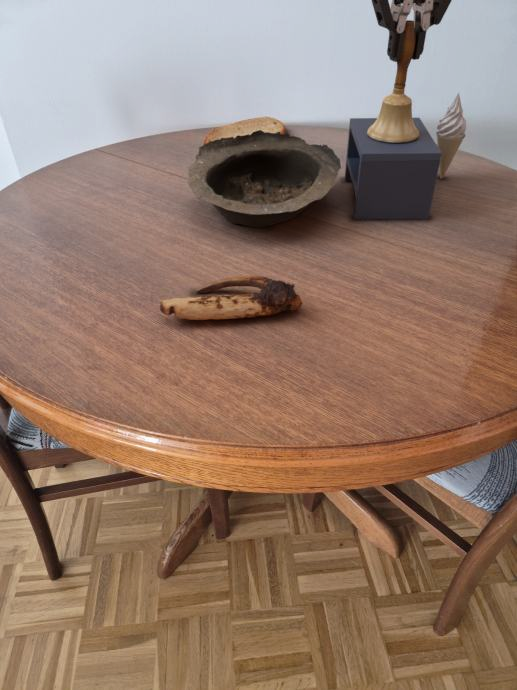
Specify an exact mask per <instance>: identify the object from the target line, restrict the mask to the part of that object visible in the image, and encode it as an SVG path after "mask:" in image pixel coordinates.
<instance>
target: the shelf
mask: <svg viewBox="0 0 517 690" xmlns="http://www.w3.org/2000/svg"><path fill="white" fill-rule="evenodd" d="M377 118H378V117H355V118H354V117H353V118H352V117H350V118H349V126H348V136H347V148H346V158H345V169H344V182H351V183H352V188H353V191H354V194H355V202H354V212H353V219H354V220H355V221H356V220H357V221H363V220H364V221H365V220H367V221H369V220H371V221H373V220H374V221H376V220H429V216H430V211H431V207H432V202H433V197H434V192H435V187H436V184H437V183H436V182H437V178H438V174H439V173H438V172H439V170H440V169H439V164H440V158H441V154H442V153H441V151H440V150H439V148H438V144H437V143H436V142H435V139H433V137H432V135H431V133H429V130H428V129H427V127H426V125H425V124H424V123H423V121H422V120H421V118H420V117H412V119H413V123H414V125H415V127H416V128H417V129H418V131H419V137H418V138H417V139H415V140H413V141H410V142H403V143H389V142H383V141H378V140H375V139H373V138H371V137H370V136H368V134H367V131H368V129H369V127H370V126H371V125H373V124H374V123H375V121H376V120H377Z"/></svg>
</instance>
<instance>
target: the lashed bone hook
mask: <svg viewBox="0 0 517 690" xmlns="http://www.w3.org/2000/svg"><path fill="white" fill-rule="evenodd" d="M233 287H251V288H257V289H260V292H252V293H247V294H242V293H241V294H222V295H207V296H197V297H189V296H185V297H184V296H183V297H172V298H167V299H162V300H161V301H160V302H159V303H160V305H159V310H160V312H161V313H162V314H164V315H165V316H171V315H172V314H173V315H174V317H175V318H178V319H183V320H191V321H205V320H229V319H233V320H234V319H244V318H256V317H265V316H273V315H277V314H279V313H281V312H284V311H288V310H290V311H295V310H298V309H300V308H301V307H302V305H303V300H302V298H301V296H300V294H298V293H296V291H295V284H294V283H292V284H290V283H289V282H285V281H283V280H280V279H279V280H276V279H272V278H269V277H267V276H262V275H239V276H232V277H227V278H223V279H218V280H216V281H213V282H210V283H208V284H205V285H203V286H202V287H199V288H198V289H196V291H195V293H196V294H204V293H209V292H214V291H218V290H222V289H224V288H225V289H226V288H233Z"/></svg>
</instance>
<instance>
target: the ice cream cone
mask: <svg viewBox="0 0 517 690" xmlns="http://www.w3.org/2000/svg"><path fill="white" fill-rule="evenodd" d="M463 113H464V109H463V106H462V102H461V96H460V93H459V92H458V93H457V95H456V97H455V98H454V100H453V101H452V103H451V104H450V106H448V108H447V111H446V113H445V115H444V116H443V117H441V118H440V119H439V121H438V122H439V123H438V124H437V125H436V127H437V129H436V130H437V131H436V132H435V133H436V134H435V135H436V142H437V143H436V144H437V147H438V148H439V150H440V151H441V153H442V154H441V158H440V164H439V169H438V170H439V178H440V179H444V177H445V174H446V173H447V171H448V169H449V168H450V165H451V164H452V162H453V160H454V158H455V156H456V154H457V152H458V150H459V149H460V147H461V145H462V143H463V140H464V139H465V138H466V136H467V135H466V130H467V120H466V118H465V117H464V115H463Z"/></svg>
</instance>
